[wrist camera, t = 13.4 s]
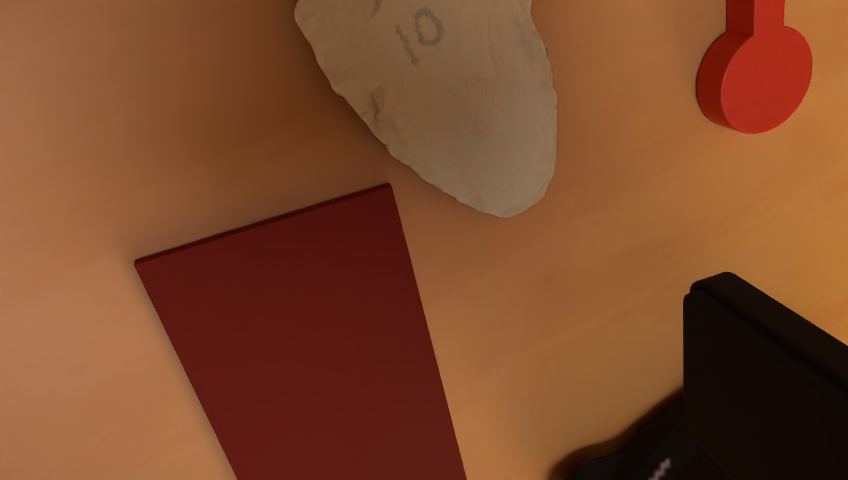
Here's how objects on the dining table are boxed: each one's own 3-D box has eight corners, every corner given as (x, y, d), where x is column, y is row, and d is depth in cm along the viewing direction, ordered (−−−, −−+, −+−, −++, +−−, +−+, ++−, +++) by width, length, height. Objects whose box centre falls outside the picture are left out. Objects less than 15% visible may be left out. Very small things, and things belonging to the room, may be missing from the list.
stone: (437, -185, 21) (457, -198, 19) (599, 150, 27) (625, 163, 26) (239, -45, 21) (240, -45, 19) (448, 256, 27) (463, 277, 26)
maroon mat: (134, 260, 24) (133, 264, 24) (389, 182, 25) (391, 185, 25) (283, 569, 32) (283, 575, 32) (470, 496, 33) (472, 502, 33)
